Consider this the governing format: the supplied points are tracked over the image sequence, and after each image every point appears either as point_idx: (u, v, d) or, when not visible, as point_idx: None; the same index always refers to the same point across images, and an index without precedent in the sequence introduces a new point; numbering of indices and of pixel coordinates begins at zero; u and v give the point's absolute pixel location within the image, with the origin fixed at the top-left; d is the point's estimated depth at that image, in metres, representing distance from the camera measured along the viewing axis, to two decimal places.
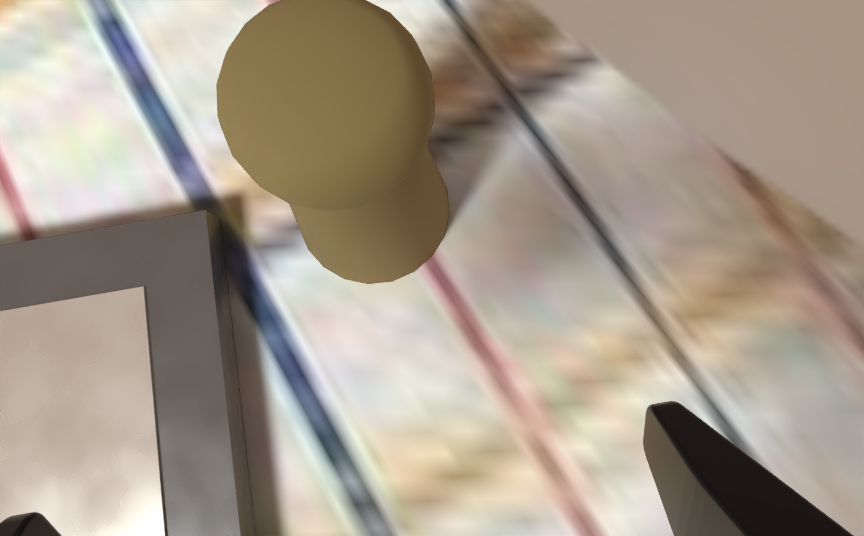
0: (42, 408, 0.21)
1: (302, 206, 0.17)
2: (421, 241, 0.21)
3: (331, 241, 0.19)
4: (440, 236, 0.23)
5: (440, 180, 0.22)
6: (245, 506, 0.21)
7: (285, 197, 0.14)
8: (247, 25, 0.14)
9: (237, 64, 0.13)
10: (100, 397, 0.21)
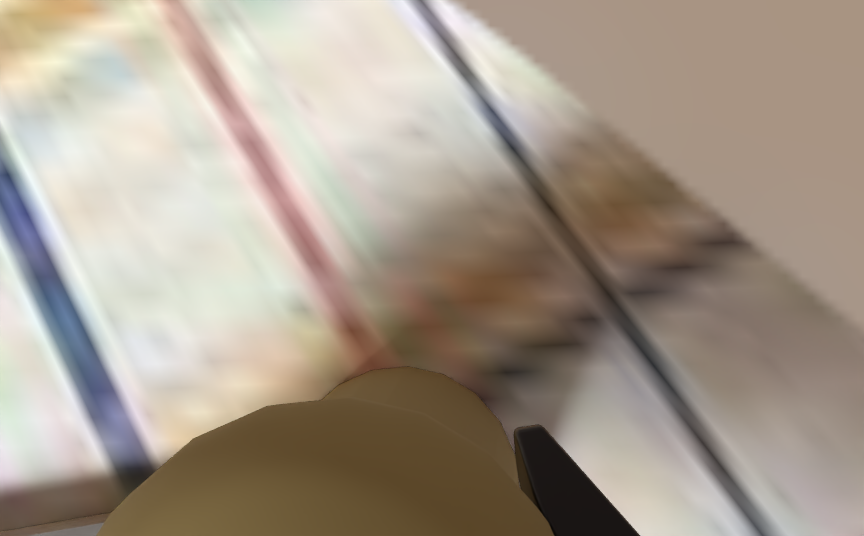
0: None
1: None
2: None
3: None
4: None
5: None
6: None
7: None
8: None
9: None
10: None
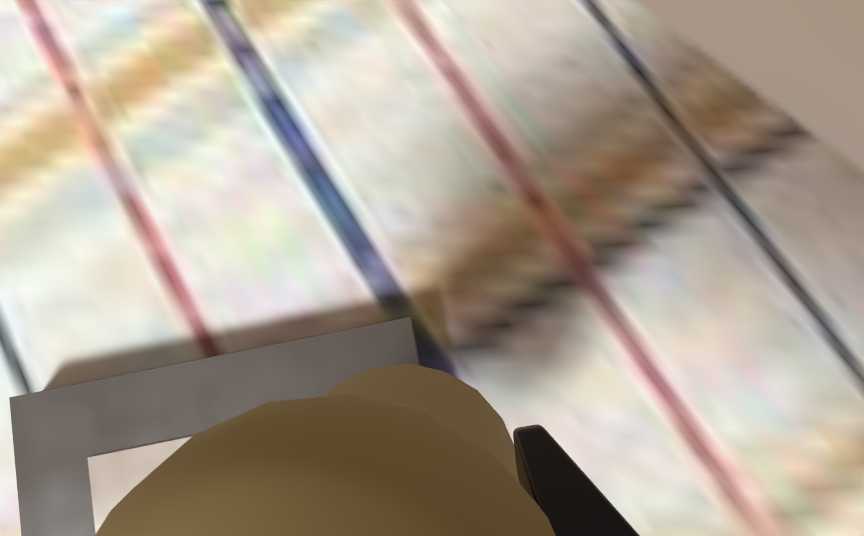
0: None
1: None
2: None
3: None
4: None
5: None
6: None
7: None
8: None
9: None
10: None
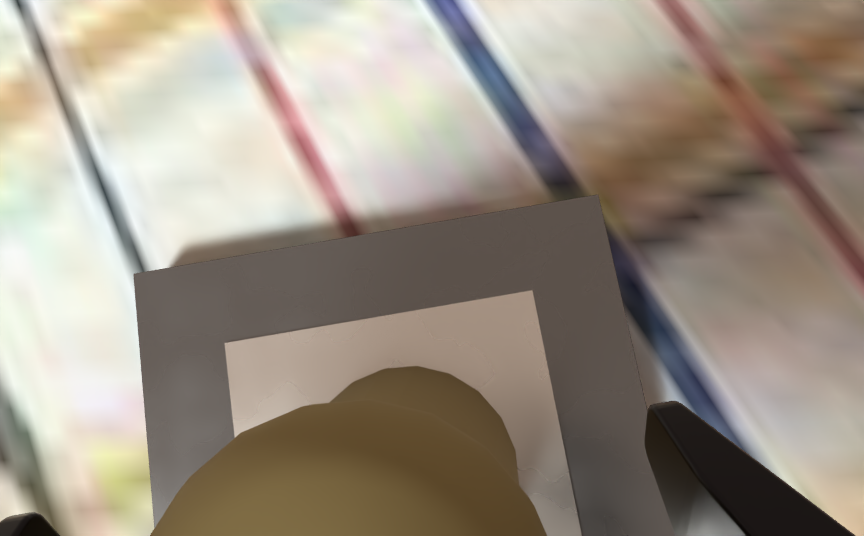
0: None
1: None
2: None
3: None
4: None
5: (514, 477, 0.14)
6: None
7: None
8: (177, 534, 0.06)
9: None
10: None
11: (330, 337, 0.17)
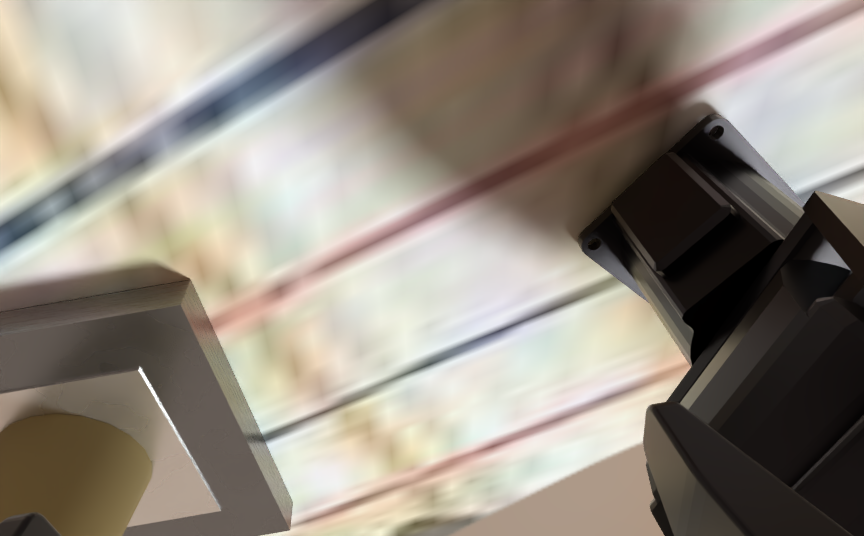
0: None
1: None
2: (88, 475, 0.22)
3: None
4: (83, 429, 0.23)
5: (16, 467, 0.21)
6: (97, 306, 0.21)
7: None
8: None
9: None
10: None
11: None
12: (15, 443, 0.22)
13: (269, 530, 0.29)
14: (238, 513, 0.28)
